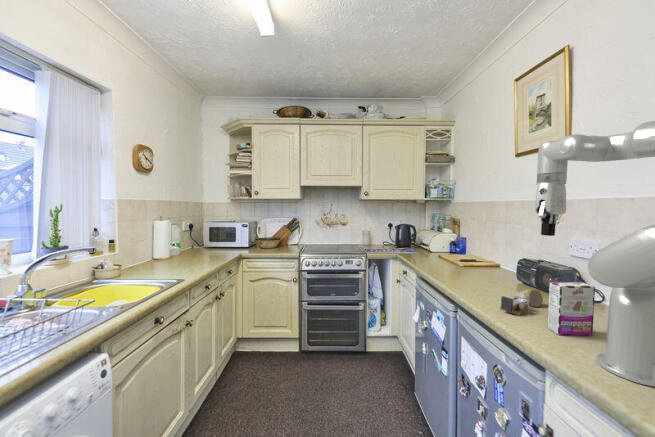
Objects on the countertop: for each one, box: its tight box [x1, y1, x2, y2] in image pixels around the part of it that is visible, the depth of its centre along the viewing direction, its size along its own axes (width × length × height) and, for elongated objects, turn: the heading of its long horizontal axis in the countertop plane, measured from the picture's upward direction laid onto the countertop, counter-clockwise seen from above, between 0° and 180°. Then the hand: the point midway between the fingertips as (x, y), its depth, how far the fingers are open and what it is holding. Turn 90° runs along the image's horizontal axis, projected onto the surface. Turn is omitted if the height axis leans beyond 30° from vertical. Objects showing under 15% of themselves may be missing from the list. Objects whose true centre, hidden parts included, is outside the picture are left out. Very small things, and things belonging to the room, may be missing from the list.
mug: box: [512, 288, 544, 308], centre depth 113 cm, size 8×10×10 cm
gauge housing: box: [499, 303, 529, 317], centre depth 104 cm, size 6×7×4 cm
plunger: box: [500, 295, 530, 313], centre depth 104 cm, size 11×5×5 cm, turn 117°
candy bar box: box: [547, 281, 596, 337], centre depth 87 cm, size 11×5×16 cm, turn 90°
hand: (547, 235), depth 88 cm, fingers closed
